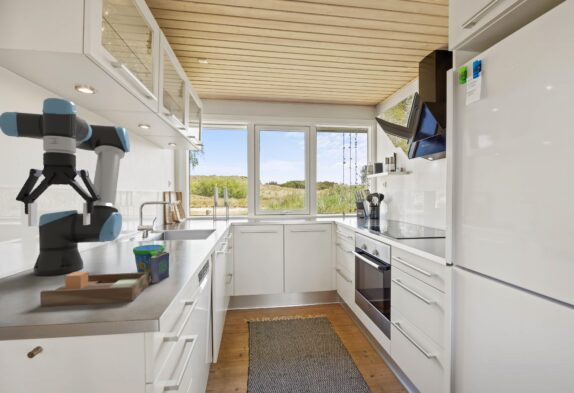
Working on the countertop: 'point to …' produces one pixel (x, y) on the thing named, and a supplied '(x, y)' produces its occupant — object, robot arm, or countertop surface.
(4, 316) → the countertop surface
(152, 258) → the purple carton
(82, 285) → the block
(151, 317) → the countertop surface
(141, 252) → the snack cup
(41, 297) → the wooden tray
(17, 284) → the countertop surface
